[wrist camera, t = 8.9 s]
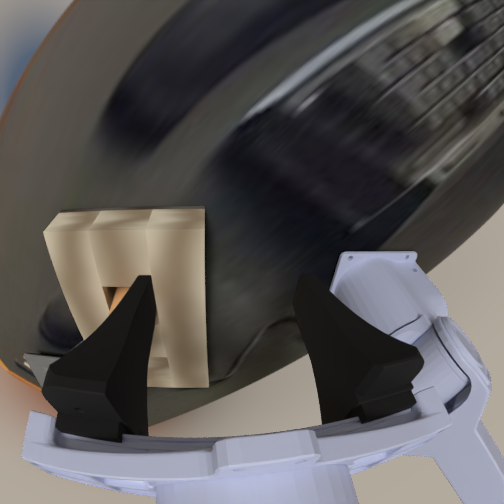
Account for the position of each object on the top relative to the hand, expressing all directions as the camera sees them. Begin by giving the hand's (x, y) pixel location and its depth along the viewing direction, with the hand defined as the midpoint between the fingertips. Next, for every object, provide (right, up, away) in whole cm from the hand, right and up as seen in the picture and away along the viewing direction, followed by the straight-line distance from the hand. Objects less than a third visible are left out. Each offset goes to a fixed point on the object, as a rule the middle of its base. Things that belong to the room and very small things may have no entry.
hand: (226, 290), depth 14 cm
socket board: (-9, -3, +12) cm, 15 cm away
